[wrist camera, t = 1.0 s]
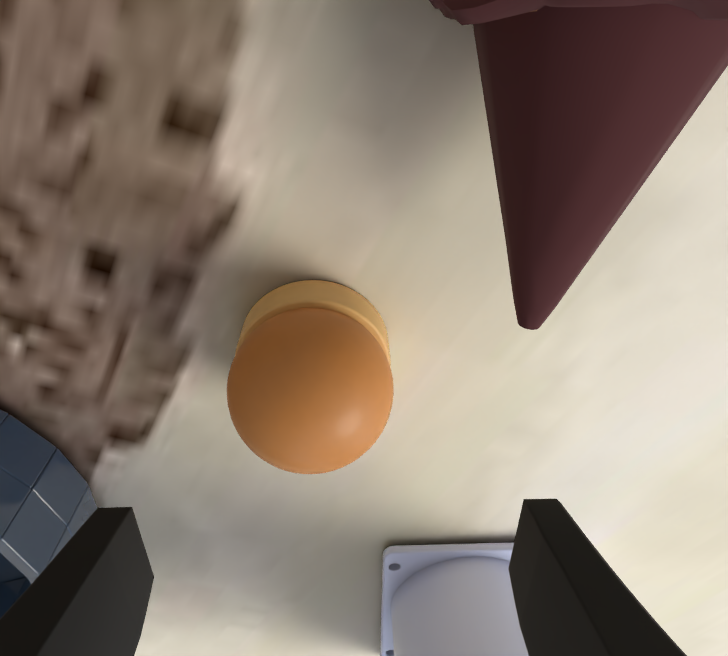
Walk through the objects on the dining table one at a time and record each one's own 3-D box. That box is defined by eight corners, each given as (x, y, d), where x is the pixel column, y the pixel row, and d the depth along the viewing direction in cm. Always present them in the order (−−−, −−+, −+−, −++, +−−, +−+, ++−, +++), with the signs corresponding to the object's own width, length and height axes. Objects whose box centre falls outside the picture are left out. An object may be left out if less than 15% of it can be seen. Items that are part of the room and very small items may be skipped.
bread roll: (386, 400, 20) (397, 509, 16) (249, 402, 20) (224, 513, 16) (389, 277, 18) (403, 369, 14) (232, 279, 18) (197, 373, 13)
